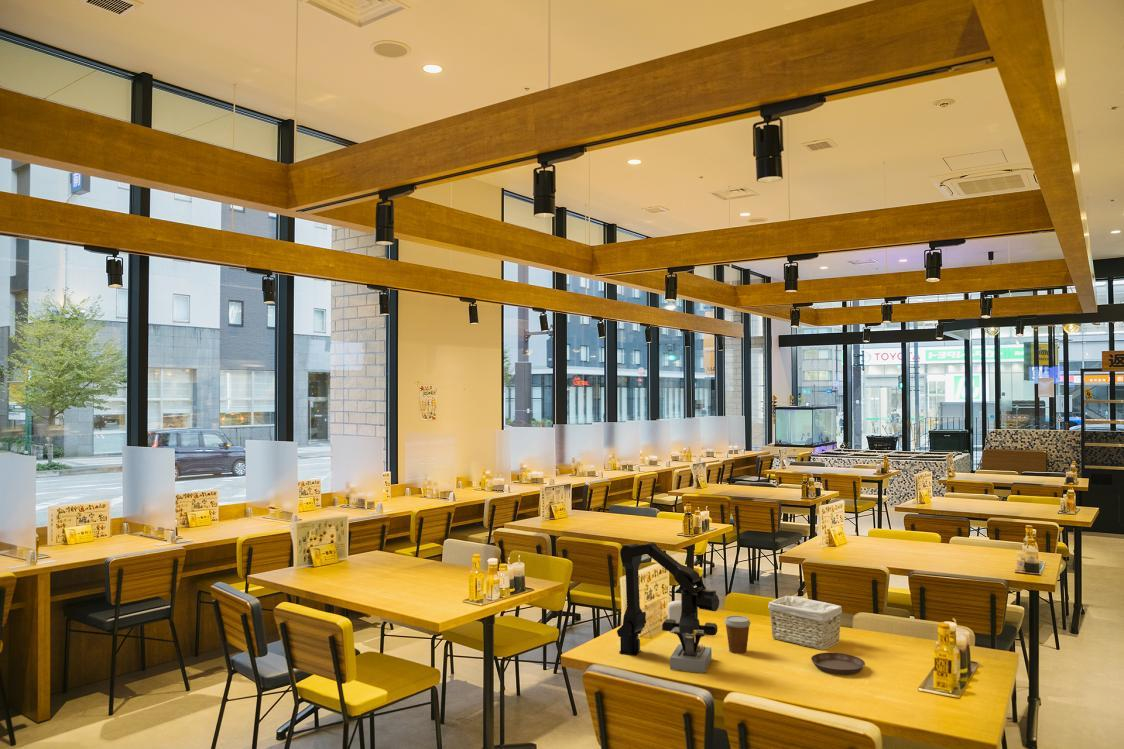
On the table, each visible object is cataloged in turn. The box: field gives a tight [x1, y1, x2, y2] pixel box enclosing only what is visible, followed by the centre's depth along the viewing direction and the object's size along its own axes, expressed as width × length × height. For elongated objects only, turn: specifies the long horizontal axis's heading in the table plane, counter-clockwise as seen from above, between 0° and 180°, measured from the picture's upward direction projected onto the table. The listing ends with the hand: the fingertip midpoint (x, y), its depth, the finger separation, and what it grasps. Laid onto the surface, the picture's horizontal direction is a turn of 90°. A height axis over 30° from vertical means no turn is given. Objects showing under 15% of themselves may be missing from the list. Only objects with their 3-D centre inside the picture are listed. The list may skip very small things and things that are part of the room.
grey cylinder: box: [685, 633, 696, 657], centre depth 264 cm, size 3×3×9 cm
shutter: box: [696, 643, 704, 651], centre depth 270 cm, size 6×6×2 cm
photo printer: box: [667, 600, 681, 633], centre depth 306 cm, size 10×4×12 cm, turn 88°
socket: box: [669, 643, 713, 674], centre depth 266 cm, size 12×16×5 cm
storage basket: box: [767, 595, 843, 651], centre depth 293 cm, size 24×16×15 cm
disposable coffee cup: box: [724, 615, 751, 655], centre depth 280 cm, size 10×10×12 cm
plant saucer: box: [810, 651, 866, 676], centre depth 261 cm, size 18×18×3 cm
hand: (689, 651), depth 264 cm, fingers closed on grey cylinder, 3 cm apart
